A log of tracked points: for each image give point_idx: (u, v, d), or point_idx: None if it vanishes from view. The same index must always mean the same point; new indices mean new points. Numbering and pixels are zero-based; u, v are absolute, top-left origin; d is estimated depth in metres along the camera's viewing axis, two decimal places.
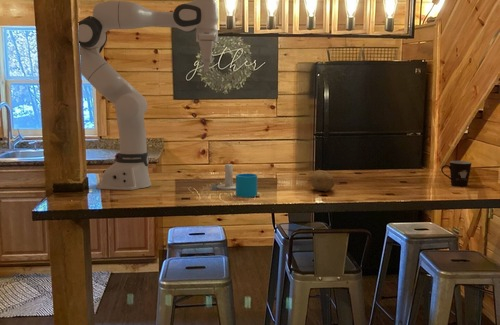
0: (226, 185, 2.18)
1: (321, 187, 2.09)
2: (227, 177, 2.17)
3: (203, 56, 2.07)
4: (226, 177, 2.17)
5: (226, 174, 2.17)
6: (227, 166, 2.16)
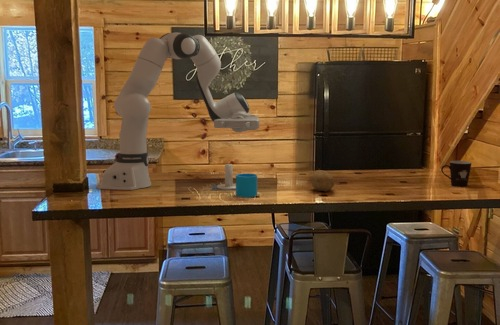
0: (226, 185, 2.18)
1: (321, 187, 2.09)
2: (227, 177, 2.17)
3: (258, 121, 2.31)
4: (226, 177, 2.17)
5: (226, 174, 2.17)
6: (227, 166, 2.16)
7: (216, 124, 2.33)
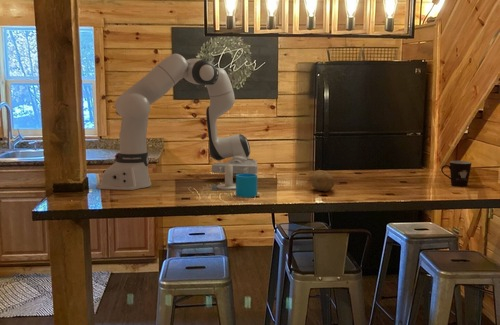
0: (226, 185, 2.18)
1: (321, 187, 2.09)
2: (227, 177, 2.17)
3: (256, 167, 2.30)
4: (226, 177, 2.17)
5: (226, 174, 2.17)
6: (227, 166, 2.16)
7: (214, 169, 2.32)
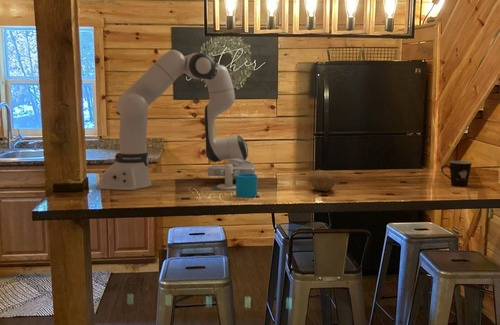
0: (226, 185, 2.18)
1: (321, 187, 2.09)
2: (227, 177, 2.17)
3: (254, 170, 2.21)
4: (226, 177, 2.17)
5: (226, 174, 2.17)
6: (227, 166, 2.16)
7: (210, 172, 2.23)
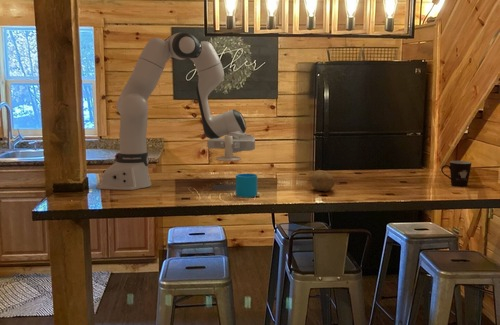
0: (226, 157, 2.16)
1: (321, 187, 2.09)
2: (227, 148, 2.15)
3: (254, 142, 2.19)
4: (226, 149, 2.15)
5: (226, 146, 2.15)
6: (227, 137, 2.14)
7: (209, 144, 2.21)
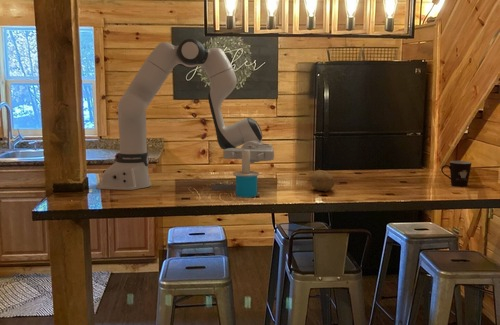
0: (243, 172, 2.04)
1: (321, 187, 2.09)
2: (244, 163, 2.03)
3: (273, 152, 2.07)
4: (243, 163, 2.03)
5: (243, 160, 2.03)
6: (244, 152, 2.02)
7: (226, 155, 2.09)
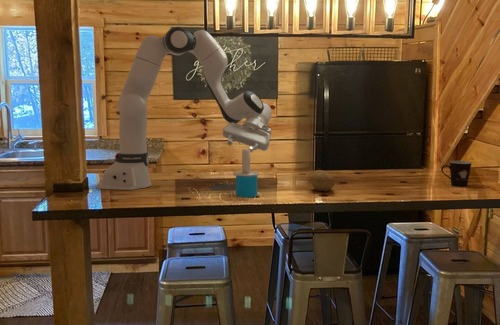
0: (243, 172, 2.04)
1: (321, 187, 2.09)
2: (244, 163, 2.03)
3: (267, 145, 2.18)
4: (243, 163, 2.04)
5: (243, 160, 2.03)
6: (244, 151, 2.03)
7: (224, 134, 2.22)
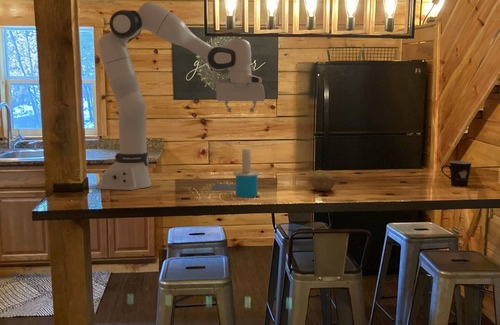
0: (243, 172, 2.04)
1: (321, 187, 2.09)
2: (245, 163, 2.03)
3: (264, 99, 2.19)
4: (244, 163, 2.04)
5: (244, 160, 2.03)
6: (245, 151, 2.03)
7: None
